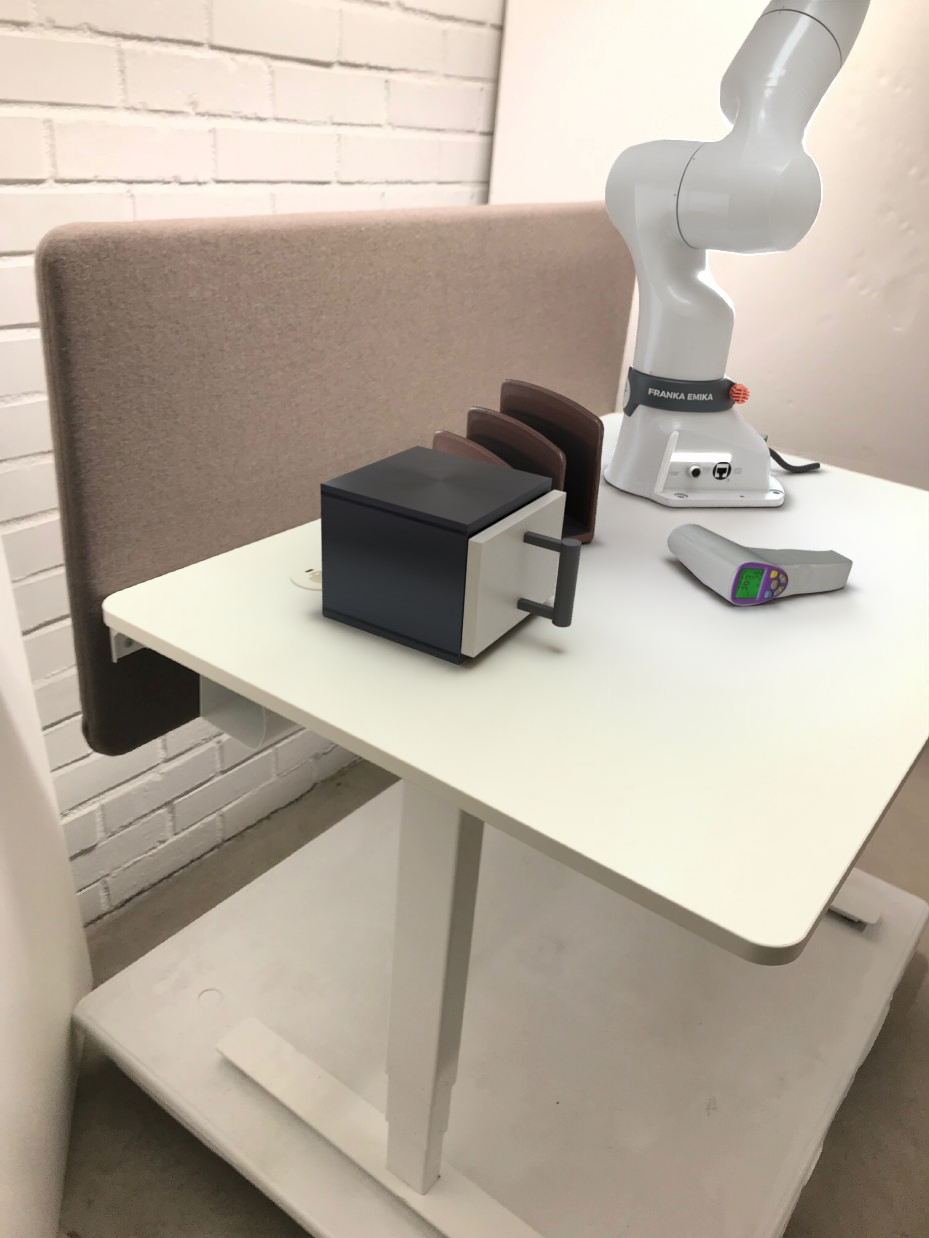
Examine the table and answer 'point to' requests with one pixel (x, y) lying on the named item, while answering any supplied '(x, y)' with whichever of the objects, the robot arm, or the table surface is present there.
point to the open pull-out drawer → (519, 573)
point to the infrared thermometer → (755, 567)
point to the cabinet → (412, 542)
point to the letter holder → (539, 446)
